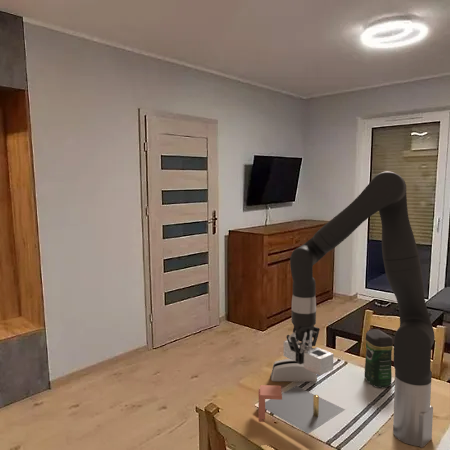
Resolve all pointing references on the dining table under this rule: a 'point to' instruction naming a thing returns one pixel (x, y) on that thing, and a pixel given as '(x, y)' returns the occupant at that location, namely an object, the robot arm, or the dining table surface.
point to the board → (302, 409)
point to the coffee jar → (378, 358)
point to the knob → (316, 406)
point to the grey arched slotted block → (291, 371)
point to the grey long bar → (312, 358)
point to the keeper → (267, 397)
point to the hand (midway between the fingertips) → (303, 361)
